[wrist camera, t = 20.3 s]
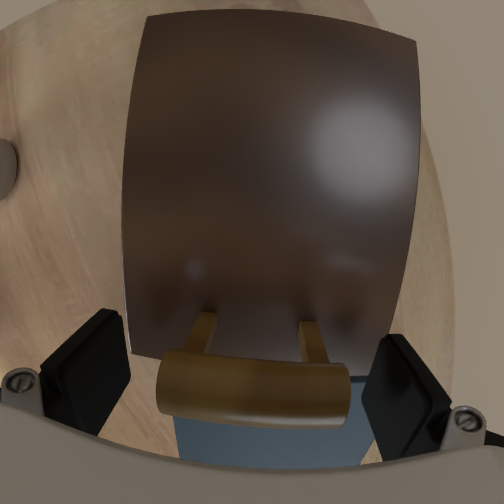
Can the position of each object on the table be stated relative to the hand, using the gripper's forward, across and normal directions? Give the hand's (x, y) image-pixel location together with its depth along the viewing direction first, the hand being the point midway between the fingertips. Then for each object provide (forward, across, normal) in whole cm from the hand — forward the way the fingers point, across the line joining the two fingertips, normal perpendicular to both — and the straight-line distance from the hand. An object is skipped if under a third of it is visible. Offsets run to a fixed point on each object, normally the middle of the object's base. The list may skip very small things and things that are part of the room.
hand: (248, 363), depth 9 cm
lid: (+3, 0, -6) cm, 6 cm away
